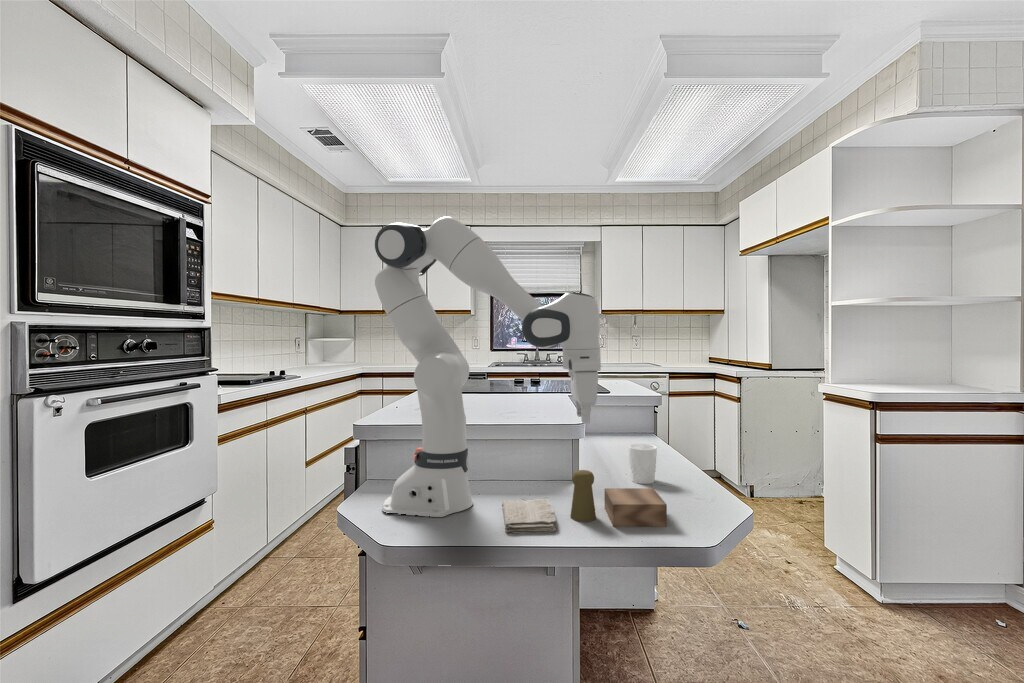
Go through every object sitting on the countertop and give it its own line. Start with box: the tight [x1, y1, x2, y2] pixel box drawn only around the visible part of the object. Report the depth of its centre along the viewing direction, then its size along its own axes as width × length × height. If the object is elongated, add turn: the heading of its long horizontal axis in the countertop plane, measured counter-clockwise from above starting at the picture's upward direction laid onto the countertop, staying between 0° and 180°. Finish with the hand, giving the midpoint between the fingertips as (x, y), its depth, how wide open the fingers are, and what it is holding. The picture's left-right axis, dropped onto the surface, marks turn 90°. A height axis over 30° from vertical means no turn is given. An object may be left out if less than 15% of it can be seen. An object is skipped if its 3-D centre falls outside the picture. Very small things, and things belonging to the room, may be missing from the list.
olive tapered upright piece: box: [569, 469, 597, 523], centre depth 126 cm, size 6×6×11 cm
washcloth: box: [501, 498, 557, 534], centre depth 125 cm, size 12×18×3 cm, turn 4°
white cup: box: [628, 443, 658, 485], centre depth 155 cm, size 8×8×10 cm
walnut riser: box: [604, 487, 668, 528], centre depth 125 cm, size 12×12×5 cm
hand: (583, 419), depth 126 cm, fingers open, 8 cm apart
